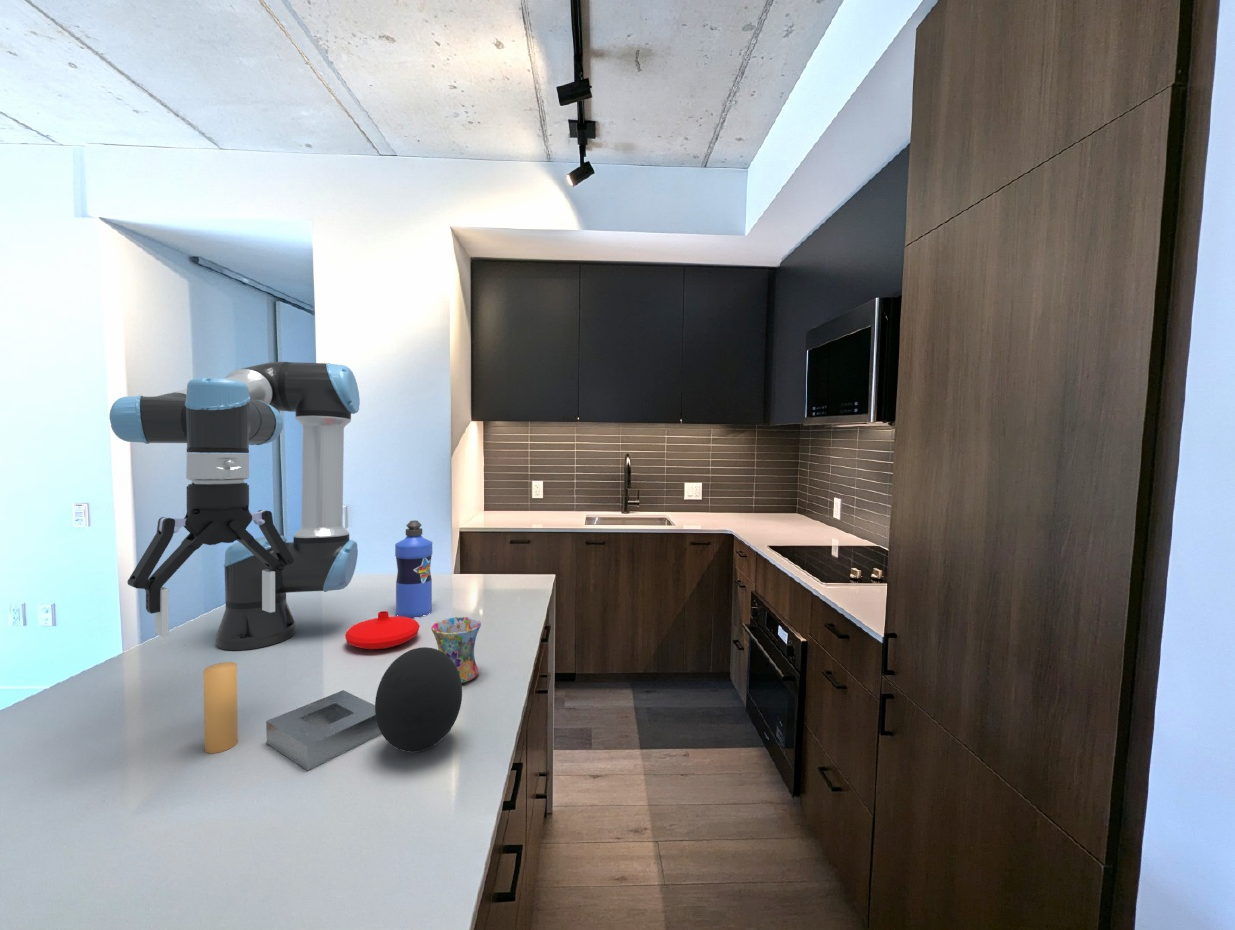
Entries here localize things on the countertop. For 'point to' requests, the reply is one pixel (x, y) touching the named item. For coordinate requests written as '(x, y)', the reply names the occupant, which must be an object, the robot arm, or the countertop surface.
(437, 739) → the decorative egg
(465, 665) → the mug
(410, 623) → the red pot lid
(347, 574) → the robot arm
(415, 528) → the water bottle
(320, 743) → the grey peg socket
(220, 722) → the orange cylindrical peg
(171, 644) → the countertop surface
